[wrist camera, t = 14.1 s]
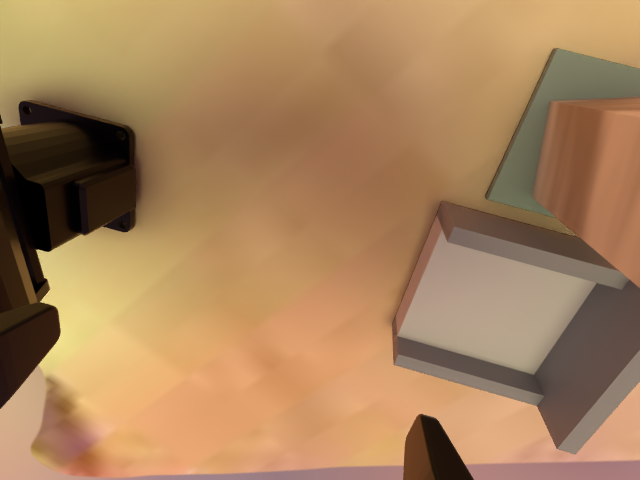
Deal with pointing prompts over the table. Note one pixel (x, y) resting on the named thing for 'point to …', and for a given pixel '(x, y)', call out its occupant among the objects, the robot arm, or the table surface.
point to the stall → (522, 319)
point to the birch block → (595, 175)
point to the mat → (554, 85)
